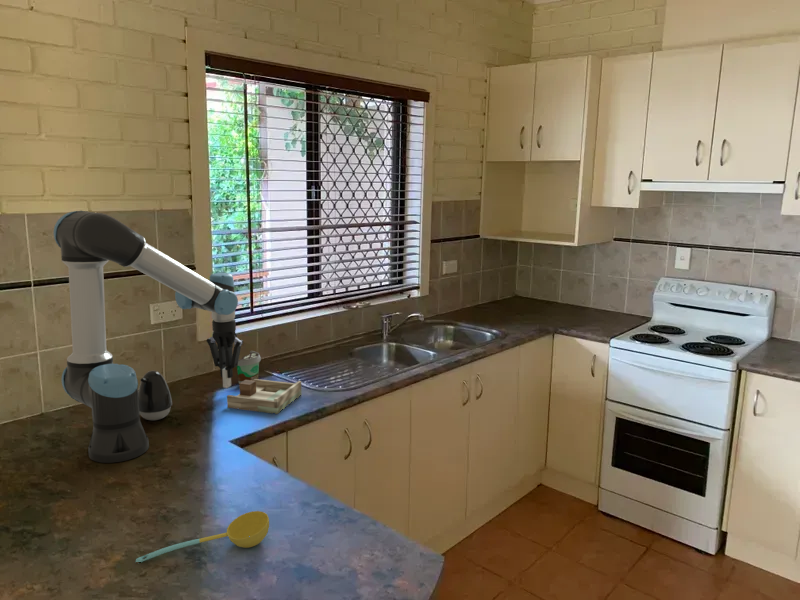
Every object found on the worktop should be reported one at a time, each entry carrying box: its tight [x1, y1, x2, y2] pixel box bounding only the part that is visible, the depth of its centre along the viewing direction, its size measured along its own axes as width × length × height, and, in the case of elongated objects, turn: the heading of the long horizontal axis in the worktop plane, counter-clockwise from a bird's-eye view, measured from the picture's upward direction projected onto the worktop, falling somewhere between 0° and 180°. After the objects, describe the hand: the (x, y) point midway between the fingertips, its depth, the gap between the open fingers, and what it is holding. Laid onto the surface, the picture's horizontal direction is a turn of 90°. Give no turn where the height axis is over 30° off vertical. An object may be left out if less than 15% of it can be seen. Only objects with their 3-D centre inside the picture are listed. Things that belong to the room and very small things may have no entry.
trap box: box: [226, 378, 302, 415], centre depth 208 cm, size 18×18×5 cm
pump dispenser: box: [138, 370, 173, 421], centre depth 192 cm, size 10×10×15 cm
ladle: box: [135, 510, 270, 563], centre depth 127 cm, size 9×26×6 cm, turn 108°
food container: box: [236, 350, 262, 384], centre depth 226 cm, size 12×6×10 cm, turn 168°
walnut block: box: [238, 380, 256, 396], centre depth 209 cm, size 4×4×4 cm
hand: (227, 386), depth 212 cm, fingers closed
